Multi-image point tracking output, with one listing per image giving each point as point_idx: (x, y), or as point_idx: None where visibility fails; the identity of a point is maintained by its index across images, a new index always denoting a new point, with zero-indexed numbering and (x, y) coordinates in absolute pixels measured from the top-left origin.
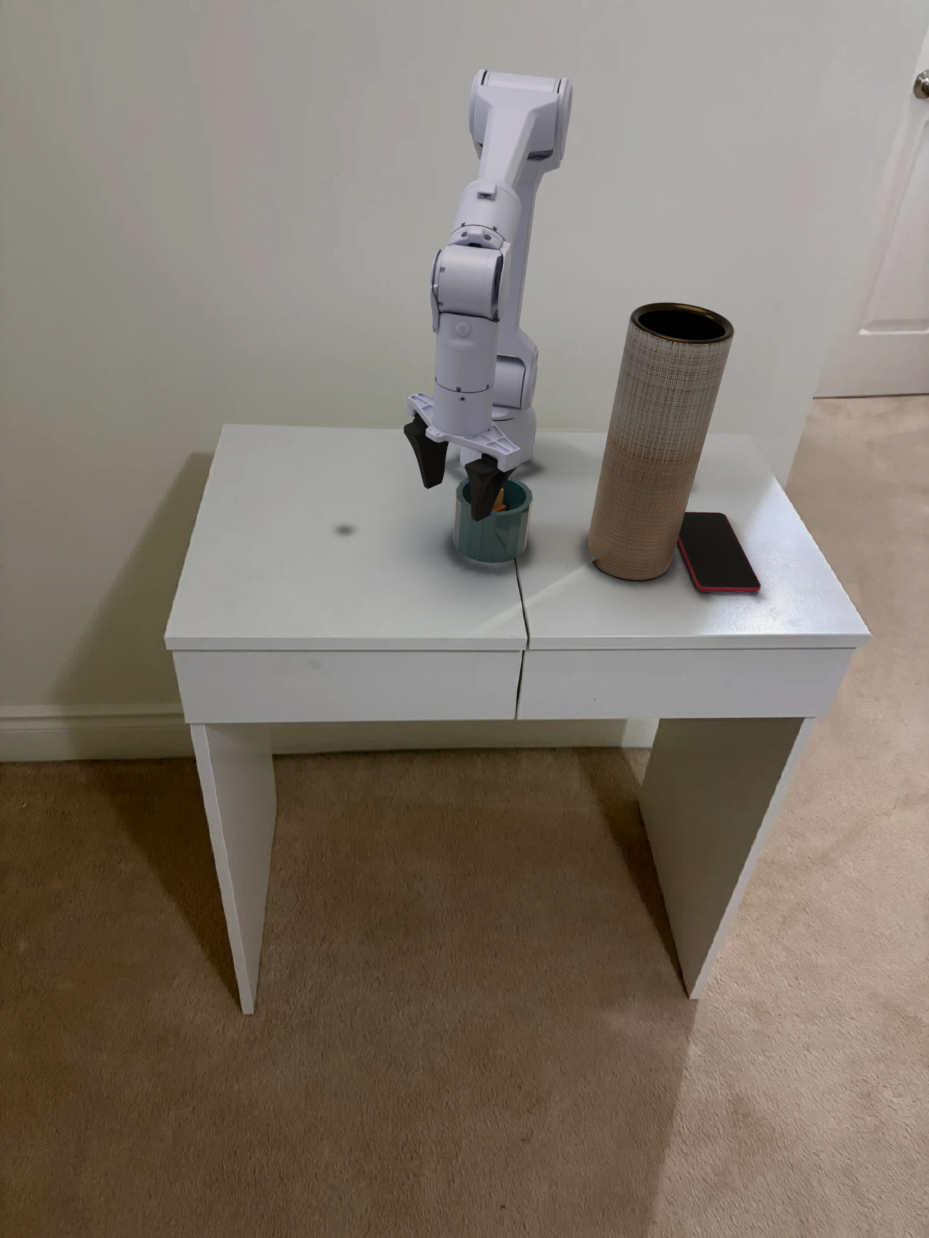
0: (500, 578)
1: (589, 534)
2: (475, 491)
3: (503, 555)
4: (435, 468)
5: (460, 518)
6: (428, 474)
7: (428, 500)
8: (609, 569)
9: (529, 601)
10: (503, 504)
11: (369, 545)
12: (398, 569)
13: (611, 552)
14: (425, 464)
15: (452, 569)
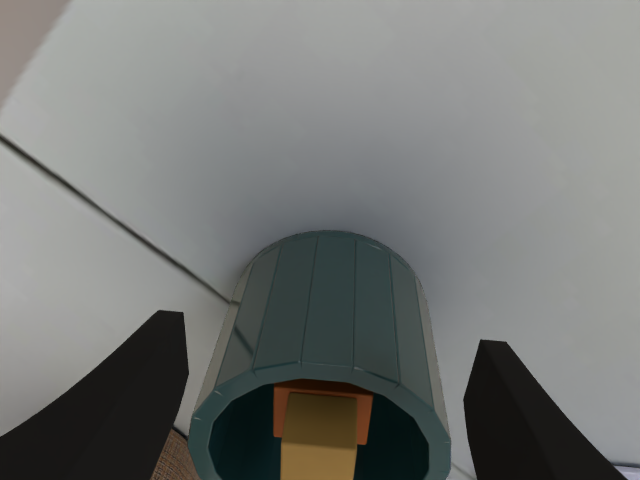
0: (219, 248)
1: (157, 468)
2: (56, 425)
3: (232, 303)
4: (493, 446)
5: (356, 321)
6: (499, 400)
7: (595, 354)
8: None
9: (104, 231)
10: None
11: (616, 91)
12: (453, 71)
13: None
14: (526, 441)
15: (332, 189)
